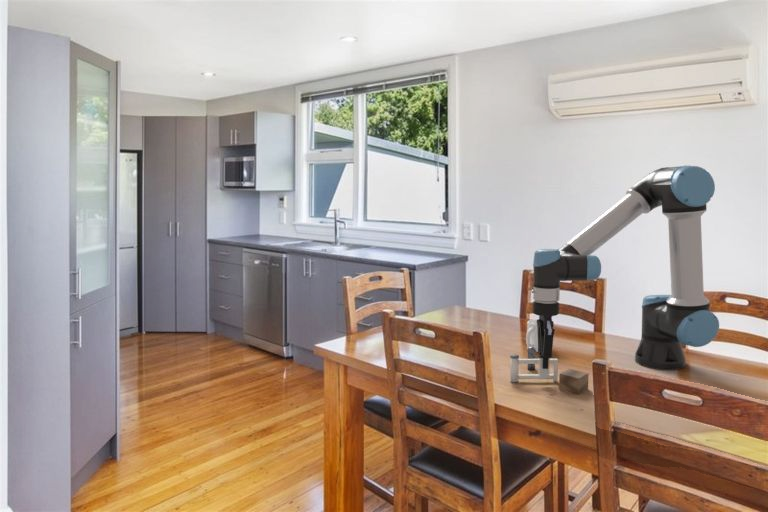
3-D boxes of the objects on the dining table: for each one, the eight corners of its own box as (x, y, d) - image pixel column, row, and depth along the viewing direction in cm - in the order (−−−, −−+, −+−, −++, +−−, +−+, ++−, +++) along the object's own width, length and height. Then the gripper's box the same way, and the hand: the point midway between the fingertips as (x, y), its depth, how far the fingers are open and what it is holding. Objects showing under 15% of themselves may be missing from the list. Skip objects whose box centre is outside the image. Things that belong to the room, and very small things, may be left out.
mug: (536, 356, 192) (536, 327, 191) (516, 351, 199) (516, 323, 198) (554, 349, 200) (555, 321, 199) (535, 344, 206) (535, 318, 205)
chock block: (588, 389, 160) (588, 373, 160) (578, 395, 156) (578, 378, 155) (569, 384, 164) (569, 368, 164) (559, 390, 160) (559, 373, 160)
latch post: (537, 369, 179) (537, 346, 178) (533, 371, 177) (533, 348, 176) (529, 367, 181) (529, 345, 180) (525, 369, 179) (525, 347, 178)
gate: (510, 382, 166) (511, 356, 165) (509, 379, 169) (509, 354, 168) (558, 382, 166) (558, 356, 165) (556, 379, 168) (556, 353, 167)
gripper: (529, 297, 168) (527, 371, 171) (537, 305, 155) (535, 385, 158) (553, 297, 167) (551, 371, 170) (564, 305, 155) (562, 385, 157)
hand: (544, 377), depth 164 cm, fingers closed
